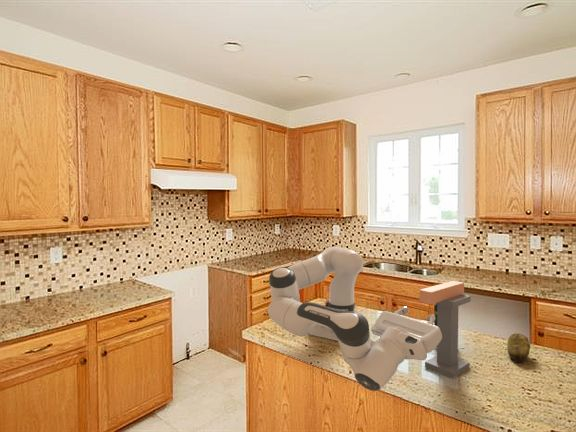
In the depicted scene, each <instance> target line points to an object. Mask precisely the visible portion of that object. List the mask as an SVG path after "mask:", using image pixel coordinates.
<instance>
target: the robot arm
mask: <svg viewBox="0 0 576 432" xmlns="http://www.w3.org/2000/svg"><path fill="white" fill-rule="evenodd" d="M363 268H364V259H363V257H362V255H361V254H360V253H358V252H357V251H355V250H353V249H349V248H345V247H340V246H329V247H327V248H325V249H324V250H323V251H322V252H320V253H319V254H317V255H314V256H313V257H310V258H307V259H305V260H302V261H300V262H297V263H294V264H292V265H290V266H288V267H285V266H283V267H277V268H275V269H273V270H272V272H270V274H269V278H268V284H269V288H270V289H269V290H270V295H271V297H270V298H272V300H271V301H270V303H269V305H268V309H267V311H268V317H269V318H270V319H271V321H273V322H274V323H275V324H276V325H277V326H279V327H280V328H281V329H283V330H285V331H286V332H287V333H290V334H292V335H295V336H297V337H301V338H302V337H305V336H308V335H310V336H314V337H318V338H319V337H320V338H324V339H328V340H332V341H336V342H338V345H339V349H340V352H341V356H342V357H343V361H344V362H345V363H346V364H347V365H348V366H349V367H350V369H351V370H352V373H353V375H354V379H355V380H356V381H357V383H358V384H359V385H360V386H362V387H363V388H364V389H366V390H369V391H373V392H377V391H379V390H382V389H383V388H384V387H385V386H386V385H387V384H388V383H389V382H390V380H391V379H392V377H393V376H394V375H395V374H396V373H397V370H398V367H399V365H401V364H402V363H403V362H404V361H405V360H413V361H415V360H416V361H425V360H427V358H428V354H429V353H431V352H433V351H434V350H435V349H437V348H436V346H437V345H438V344H439V342H440V341H441V339H442V333H441V331H440V328H439V327H438V326H434V320H435V315H434V313H428V315H427V320H428V321H426V322H425V321H421V320H418V319H414V318H410V317H407V316H405V315H407V313H408V312H409V309H408V307H407V306H402V307H401V308H400V309H397V310H395V311H393V312H391V311H387V310H384V311H382V312H381V313H380V314H379V316H378V318H377V319H376V321H375V323H374V324H373V326H372V327H371V329H370V325H369V321H368V319H367V318H366V317H365V316H364V315H363V314H361V313H360V312H357V311H356V305H355V299H354V298H355V285H356V280H357V276H358V275H359V274H360V272H361V271H362V270H363ZM333 273H334V275H333V279H332V281H331V282H330V284H329V286H328V291H329V293H328V295H329V296H328V297H329V299H326V300H325V303H324V305H322V304H319V303H315V302H309V301H308V302H307V301H305V302H301V299H300V298H301V297H300V290H301V289H306V288H308V287H310V286H313V285H316V284H318V283H320V282H323V281H324V280H326V279H327V277H328V276H329V275H330V274H333ZM370 330H371V332H372V334H373V335H375V336H377V337H379V338H378V339H377V340H373V339H372V338H371V334H370Z"/></svg>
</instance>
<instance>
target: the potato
mask: <svg viewBox="0 0 576 432" xmlns="http://www.w3.org/2000/svg"><path fill="white" fill-rule="evenodd" d="M506 345H507V348H506V349H507V350H506V351H507V354H508V356H509V358H510V359H512V360H513V361H515V362H518V363H524V362H526V361H527V360H528V357H529V356H530V350H531V344H530V341H529V338H528V337H527V336H525V335H523V334H521V333H513V334H511V335H509V337H508V339H507V344H506Z"/></svg>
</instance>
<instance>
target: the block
mask: <svg viewBox="0 0 576 432" xmlns="http://www.w3.org/2000/svg"><path fill="white" fill-rule="evenodd" d="M461 294H463V295H465V283H464V282H462V281H457V280H450V281H447V282H443V283H440V284H436V285H433V286H429V287H425V288H421V289H419V302H420V303H424V304H427V305H435V303H437V302H440V301H443V300H446V299H449V298H452V297H455V296H458V295H461Z"/></svg>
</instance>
